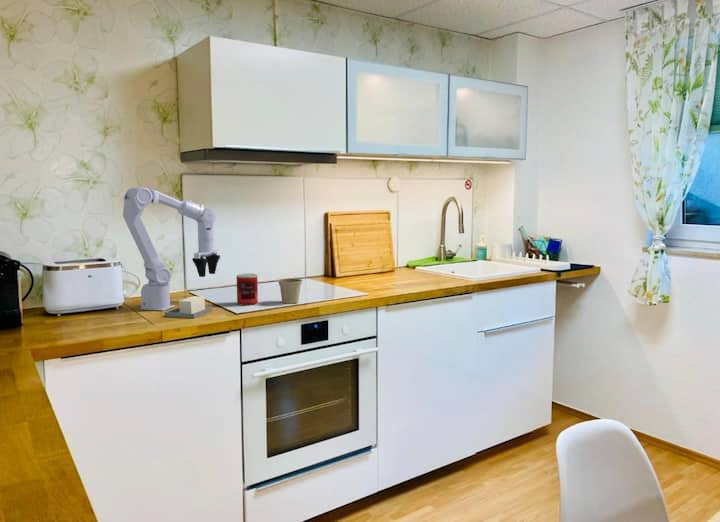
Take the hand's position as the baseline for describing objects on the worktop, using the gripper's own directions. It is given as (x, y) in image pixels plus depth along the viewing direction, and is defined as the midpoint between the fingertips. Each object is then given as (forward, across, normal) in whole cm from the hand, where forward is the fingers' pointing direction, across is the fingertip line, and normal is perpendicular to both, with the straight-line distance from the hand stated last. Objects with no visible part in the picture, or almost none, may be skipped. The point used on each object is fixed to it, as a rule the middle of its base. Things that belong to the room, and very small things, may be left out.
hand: (207, 275), depth 213 cm
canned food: (+11, +1, -16) cm, 19 cm away
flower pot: (+11, +7, -31) cm, 34 cm away
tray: (+10, -20, -4) cm, 23 cm away
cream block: (+8, -14, -4) cm, 16 cm away
